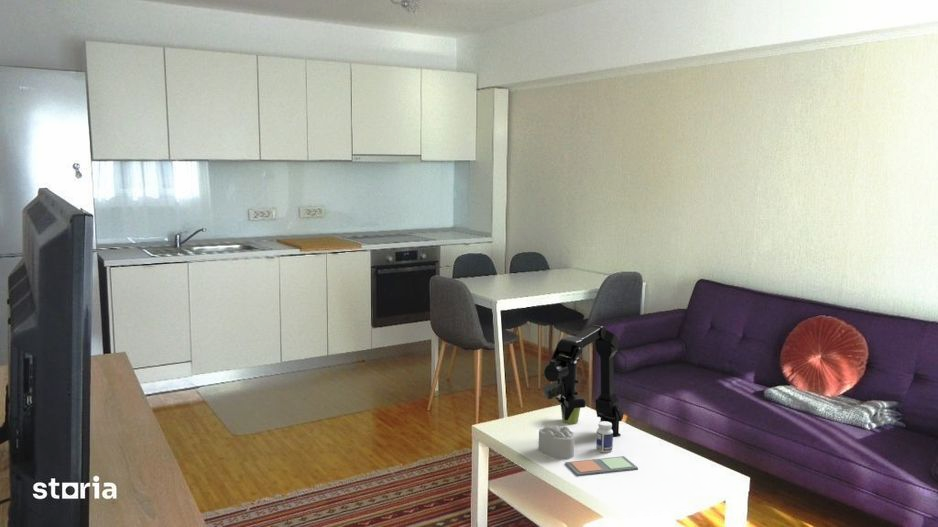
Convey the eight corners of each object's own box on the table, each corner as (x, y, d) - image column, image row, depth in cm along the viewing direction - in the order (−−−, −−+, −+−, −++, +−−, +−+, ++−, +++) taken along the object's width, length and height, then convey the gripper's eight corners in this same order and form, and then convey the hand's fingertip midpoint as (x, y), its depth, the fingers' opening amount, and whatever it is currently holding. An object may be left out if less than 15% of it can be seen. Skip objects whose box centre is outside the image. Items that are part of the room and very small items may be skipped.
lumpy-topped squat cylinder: (556, 443, 260) (557, 420, 259) (581, 455, 249) (582, 431, 248) (534, 449, 254) (535, 426, 253) (558, 462, 243) (559, 437, 242)
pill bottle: (613, 448, 256) (614, 421, 255) (611, 454, 251) (612, 426, 249) (597, 446, 258) (598, 419, 257) (594, 451, 253) (595, 424, 251)
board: (623, 457, 248) (623, 455, 248) (638, 469, 238) (638, 467, 238) (565, 463, 242) (565, 461, 242) (577, 476, 232) (577, 473, 232)
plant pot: (557, 416, 288) (558, 396, 287) (581, 418, 287) (582, 397, 286) (558, 425, 279) (559, 403, 278) (582, 426, 278) (583, 404, 277)
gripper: (536, 369, 251) (534, 412, 253) (555, 384, 233) (553, 430, 235) (565, 368, 254) (564, 410, 255) (587, 383, 236) (585, 428, 237)
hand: (565, 420), depth 246 cm, fingers closed
